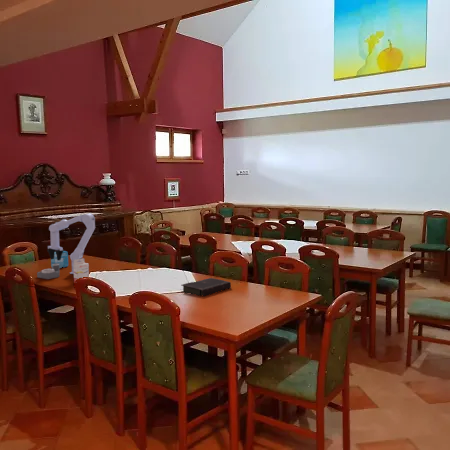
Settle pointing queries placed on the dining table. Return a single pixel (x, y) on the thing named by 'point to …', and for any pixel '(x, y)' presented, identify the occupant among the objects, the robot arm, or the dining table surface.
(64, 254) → the data package
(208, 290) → the diary
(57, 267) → the lens
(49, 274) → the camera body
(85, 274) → the ink cartridge box
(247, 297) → the dining table surface
